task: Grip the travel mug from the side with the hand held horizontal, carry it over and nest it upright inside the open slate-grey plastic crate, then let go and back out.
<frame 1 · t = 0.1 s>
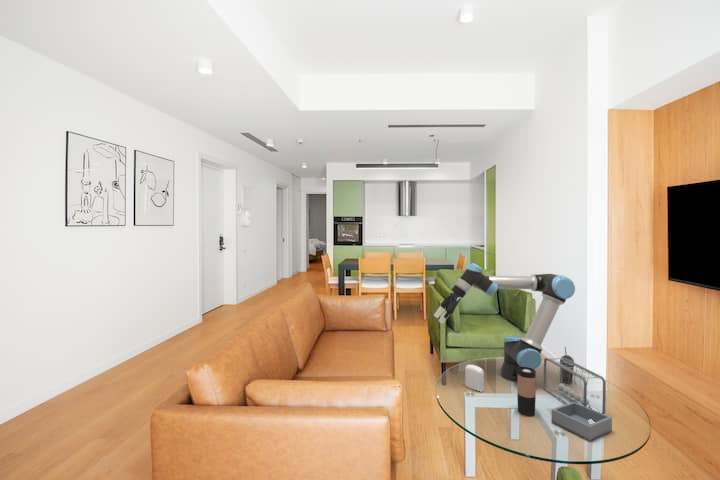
hand: (438, 319, 193), 36 cm above the table, tool tilted 35°, fingers open, 13 cm apart
travel mug: (526, 413, 162), on the table
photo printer: (474, 389, 188), on the table
beverage cup: (566, 383, 196), on the table
crate: (580, 427, 150), on the table
newton's cradle: (572, 402, 173), on the table
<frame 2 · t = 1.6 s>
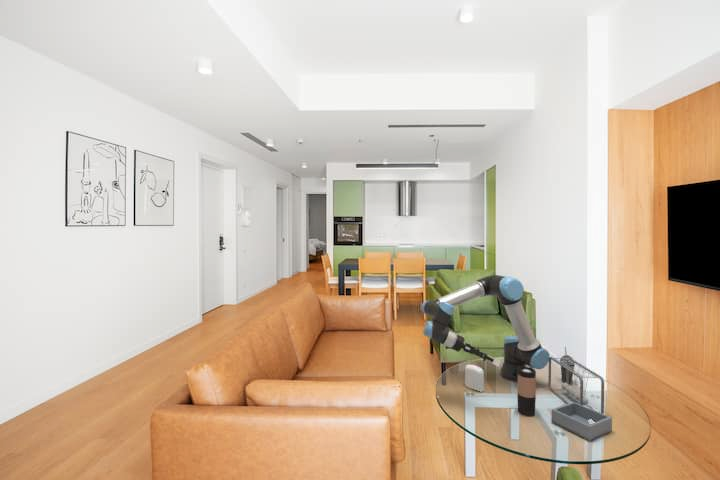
hand: (495, 361, 169), 21 cm above the table, tool tilted 65°, fingers open, 13 cm apart
newton's cradle: (573, 401, 174), on the table
everything else where it was.
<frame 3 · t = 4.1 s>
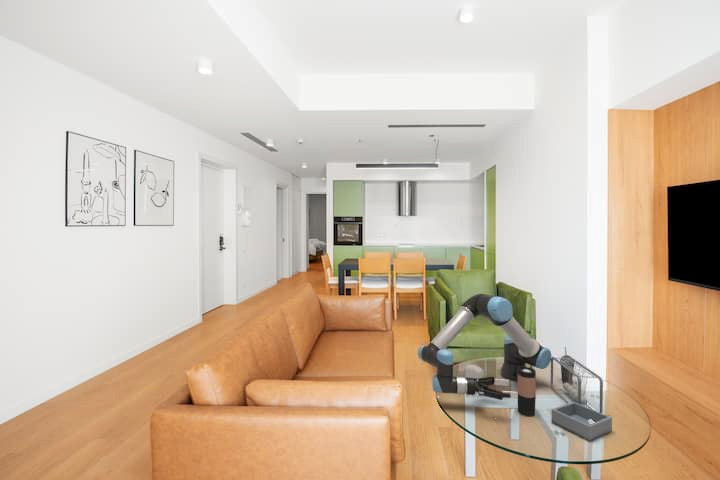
hand: (513, 388, 163), 11 cm above the table, tool horizontal, fingers open, 13 cm apart
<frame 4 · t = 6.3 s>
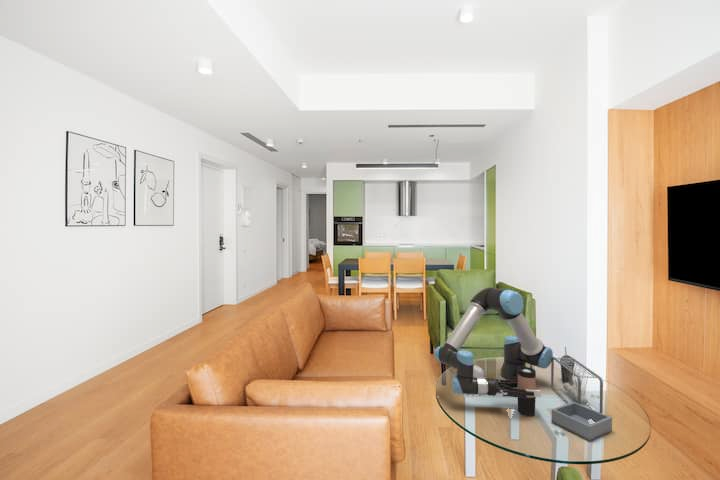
hand: (537, 389, 161), 11 cm above the table, tool horizontal, fingers closed on travel mug, 7 cm apart
travel mug: (526, 413, 162), on the table, touching gripper
everything else where it was.
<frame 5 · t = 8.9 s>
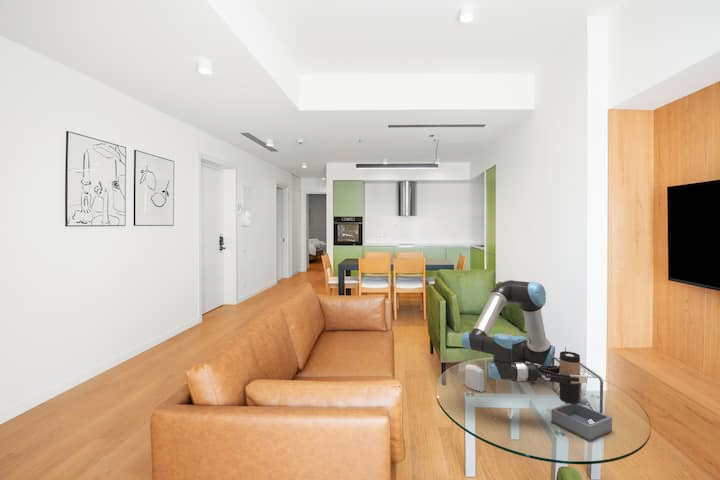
hand: (581, 375, 150), 22 cm above the table, tool horizontal, fingers closed on travel mug, 7 cm apart
travel mug: (569, 400, 151), point 11 cm above the table, touching gripper
when the fingers open (13 cm above the table, at t = 11.3 s): travel mug drops 1 cm, resting on crate.
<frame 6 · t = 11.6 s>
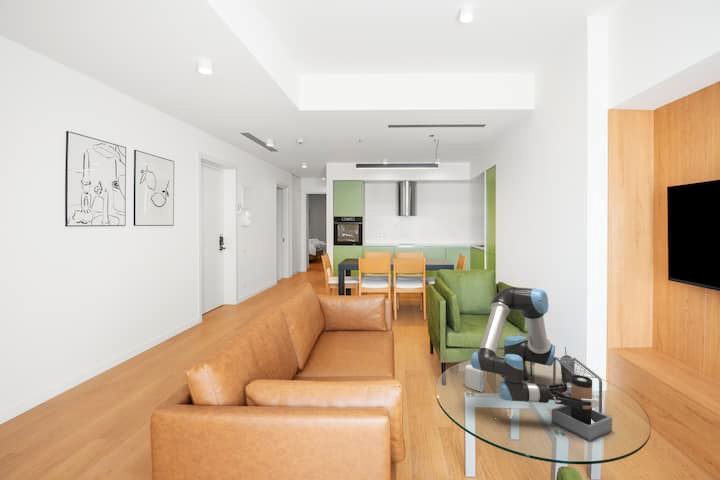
hand: (590, 396, 149), 13 cm above the table, tool horizontal, fingers open, 12 cm apart
travel mug: (580, 425, 150), point 1 cm above the table, touching crate
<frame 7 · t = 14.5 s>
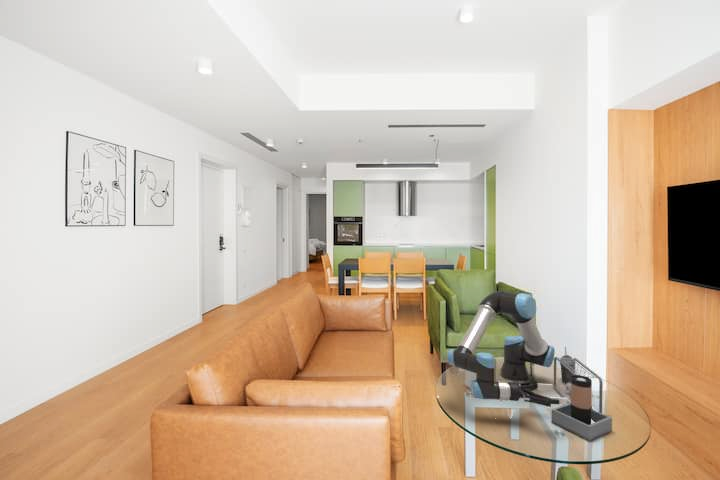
hand: (559, 394, 151), 14 cm above the table, tool horizontal, fingers open, 13 cm apart
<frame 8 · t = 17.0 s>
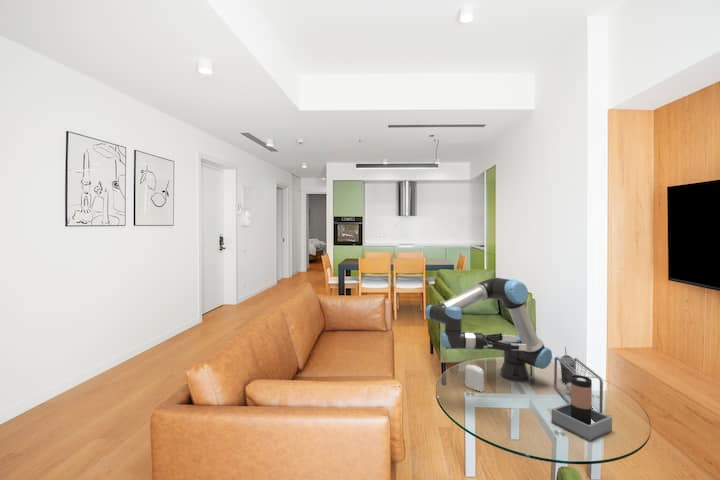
hand: (521, 342, 163), 32 cm above the table, tool horizontal, fingers open, 13 cm apart
at the end: travel mug inside the target area on the crate (0.1 cm from its centre), point 0.8 cm above the crate's base; travel mug tilted 0°; the gripper is holding nothing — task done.
